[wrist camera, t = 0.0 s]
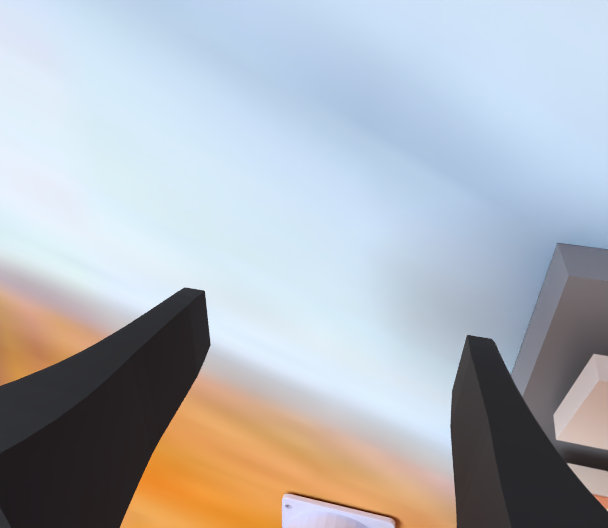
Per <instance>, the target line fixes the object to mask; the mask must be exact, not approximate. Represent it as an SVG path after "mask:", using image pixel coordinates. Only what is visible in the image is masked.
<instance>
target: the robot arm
mask: <svg viewBox="0 0 608 528" xmlns="http://www.w3.org/2000/svg"><path fill="white" fill-rule="evenodd" d="M209 347H210V335H209V326H208V317H207V308H206V298H205V291H203V290H197V289H191V288H183V289H182V290H180V291H178V292H177V293H175V294H174V295H172V296H171V297H169V298H168V299H166V300H165V301H163V302H162V303H160V304H159V305H157V306H156V307H154V308H153V309H151V310H150V311H148V312H147V313H145V314H144V315H142V316H141V317H139V318H137V319H136V320H134V321H133V322H131V323H130V324H128V325H127V326H125V327H123V328H122V329H120V330H118V331H117V332H115V333H113V334H112V335H110V336H108V337H106V338H105V339H103V340H101V341H100V342H98V343H96V344H94V345H93V346H91V347H89V348H87V349H85V350H83V351H81V352H79V353H77V354H75V355H73V356H71V357H69V358H67V359H65V360H63V361H61V362H59V363H57V364H54V365H52V366H50V367H47V368H45V369H43V370H40V371H38V372H35V373H33V374H31V375H28V376H26V377H23V378H21V379H18V380H16V381H13V382H10V383H7V384H5V385H2V386H0V528H120V525H121V523H122V520H123V518H124V516H125V513H126V511H127V509H128V506H129V504H130V502H131V500H132V497H133V495H134V493H135V490H136V488H137V486H138V483H139V481H140V479H141V477H142V475H143V473H144V470H145V468H146V466H147V464H148V462H149V460H150V457H151V455H152V453H153V451H154V450H155V448H156V446H157V444H158V442H159V440H160V439H161V437H162V435H163V434H164V432H165V430H166V428H167V427H168V425H169V423H170V422H171V420H172V418H173V417H174V415H175V413H176V412H177V410H178V408H179V407H180V405H181V403H182V402H183V400H184V398H185V397H186V395H187V393H188V391H189V390H190V388H191V386H192V385H193V383H194V381H195V379H196V378H197V376H198V374H199V371H200V369H201V367H202V365H203V362H204V360H205V357H206V355H207V352H208V350H209ZM451 441H452V456H453V469H454V483H455V496H456V513H457V528H608V511H607V510H606V509H605V508H604V506H603V505H602V504H601V503H600V502H599V501H598V500H597V499H596V498H595V497H594V496H593V494H592V493H591V492H590V491H589V490H588V489H587V488H586V487H585V485H584V484H583V483H582V482H581V480H580V479H579V478H578V477H577V476H576V474H575V473H574V472H573V471H572V469H571V468H570V467H569V466H568V464H567V463H566V462H565V460H564V459H563V458H562V456H561V455H560V454H559V452H558V451H557V450H556V448H555V447H554V446H553V444H552V443H551V441H550V440H549V438H548V437H547V435H546V434H545V432H544V431H543V429H542V428H541V426H540V425H539V423H538V422H537V420H536V419H535V417H534V415H533V414H532V412H531V411H530V409H529V407H528V406H527V404H526V402H525V400H524V399H523V397H522V395H521V394H520V392H519V390H518V388H517V387H516V385H515V383H514V381H513V379H512V377H511V375H510V373H509V371H508V370H507V368H506V366H505V364H504V361H503V359H502V357H501V355H500V353H499V351H498V349H497V346H496V344H495V343H494V341H493V340H492V339H488V338H483V337H477V336H471V335H467V337H466V341H465V345H464V348H463V352H462V356H461V360H460V363H459V367H458V371H457V375H456V378H455V382H454V386H453V390H452V405H451ZM395 524H396V523H395V521H394V520H393V519H392V518H389V517H385V516H381V515H376V514H372V513H368V512H364V511H360V510H355V509H351V508H347V507H343V506H339V505H335V504H330V503H326V502H322V501H318V500H314V499H309V498H305V497H301V496H297V495H293V494H285V495H284V496H283V499H282V528H395Z"/></svg>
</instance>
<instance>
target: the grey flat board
mask: <svg viewBox="0 0 608 528" xmlns="http://www.w3.org/2000/svg"><path fill="white" fill-rule="evenodd" d="M593 354H598V355H604V356H608V250H607V249H599V248H591V247H584V246H576V245H569V244H561V243H557V246H556V249H555V251H554V254H553V257H552V260H551V263H550V266H549V269H548V271H547V274H546V277H545V280H544V283H543V286H542V289H541V291H540V294H539V297H538V300H537V303H536V306H535V309H534V311H533V314H532V317H531V320H530V323H529V326H528V328H527V331H526V334H525V337H524V340H523V343H522V346H521V348H520V351H519V354H518V357H517V360H516V363H515V366H514V368H513V371H512V374H511V377H512V379H513V381H514V383H515V385H516V387H517V388H518V390H519V392H520V394H521V395H522V397H523V399H524V400H525V402H526V404H527V406H528V407H529V409H530V411H531V412H532V414H533V415H534V417H535V419H536V420H537V422H538V423H539V425H540V426H541V428H542V429H543V431H544V432H545V434H546V435H547V437H548V438H549V440H550V441H551V443H552V444H553V446H554V447H555V448H556V450H557V451H558V452H559V454H560V455H561V456H562V458H563V459H564V460H565V462H566V463H570V464H575V465H579V466H584V467H589V468H594V469H599V470H604V471H608V450H605V449H600V448H595V447H590V446H585V445H580V444H575V443H570V442H565V441H560V440H556V434H555V425H554V417H553V415H554V413H555V412H556V410H557V409H558V407H559V406H560V404H561V403H562V401H563V400H564V398H565V397H566V395H567V394H568V392H569V391H570V389H571V388H572V386H573V384H574V383H575V381H576V380H577V378H578V377H579V375H580V374H581V372H582V371H583V369H584V368H585V366H586V365H587V363H588V362H589V360H590V359H591V357H592V356H593Z"/></svg>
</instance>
